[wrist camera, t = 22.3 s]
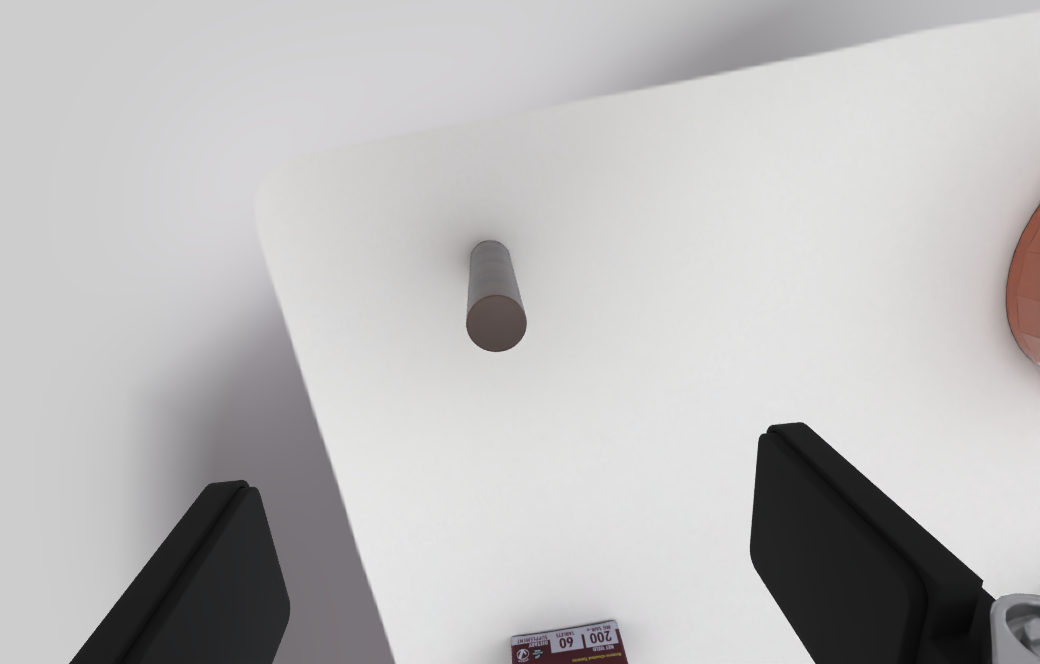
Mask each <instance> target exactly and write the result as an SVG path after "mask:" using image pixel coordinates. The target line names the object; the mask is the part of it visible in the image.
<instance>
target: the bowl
mask: <svg viewBox="0 0 1040 664" xmlns="http://www.w3.org/2000/svg"><path fill="white" fill-rule="evenodd" d="M1006 304H1007V312H1008V319H1009V323H1010V327H1011V330H1012V333H1013V335H1014V337H1015V339H1016V341H1017V343H1018V345H1019V346H1020V348H1021V349H1022V350H1023V352H1024V353H1025V354H1026V355H1027V356H1028V357H1029V358H1030V359H1031V360H1032V361H1033V362H1034V363H1035V364H1037V365H1038V366H1040V206H1039V207H1038V209H1037V210H1036V212H1035V213H1034V215H1033V216H1032V218H1031V220H1030V222H1029V223H1028V225H1027V227H1026V229H1025V231H1024V233H1023V235H1022V237H1021V239H1020V242H1019V244H1018V246H1017V249H1016V251H1015V254H1014V257H1013V261H1012V264H1011V268H1010V272H1009V278H1008V284H1007V301H1006Z"/></svg>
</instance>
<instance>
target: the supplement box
mask: <svg viewBox="0 0 1040 664" xmlns="http://www.w3.org/2000/svg"><path fill="white" fill-rule="evenodd" d="M511 648H512V664H628V662H627V658H626V654H625V650H624V646H623V643H622V639H621V635H620V632H619V629H618V625H617V622H616V621H610V622H606V623H602V624H596V625H590V626H584V627H579V628H573V629H566V630H560V631H554V632H548V633H541V634H534V635H527V636H516V637H512V639H511Z"/></svg>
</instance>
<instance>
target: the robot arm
mask: <svg viewBox="0 0 1040 664" xmlns="http://www.w3.org/2000/svg"><path fill="white" fill-rule="evenodd" d="M750 556H751V560H752V563H753V565H754V568H755V569H756V571H757V573H758V574H759V576H760V577H761V579H762V581H763V582H764V584H765V585H766V587H767V588H768V590H769V592H770V593H771V595H772V596H773V598H774V599H775V601H776V603H777V604H778V606H779V607H780V609H781V610H782V612H783V613H784V615H785V617H786V618H787V620H788V621H789V623H790V624H791V626H792V628H793V629H794V631H795V632H796V634H797V635H798V637H799V639H800V640H801V642H802V643H803V645H804V646H805V648H806V649H807V651H808V653H809V654H810V656H811V657H812V659H813V660H814V662H815V664H1040V596H1038V595H1033V594H1011V595H1006V596H1001V597H1000V598H999V599H997V600H995V599H994V598H993V597H992V596H991V595H990V594H989V593H987V592H986V591H985V590H984V589H983V588H982V584H983V580H982V579H981V578H980V577H979V576H977V575H976V574H975V573H974V572H973V571H972V570H971V569H969V568H968V567H967V566H966V565H965V564H964V563H963V562H962V561H960V560H959V559H958V558H957V557H956V556H955V555H954V554H952V553H951V552H950V551H949V550H948V549H947V548H946V547H945V546H943V545H942V544H941V543H940V542H939V541H938V540H937V539H935V538H934V537H933V536H932V535H931V534H930V533H929V532H928V531H926V530H925V529H924V528H923V527H922V526H921V525H920V524H918V523H917V522H916V521H915V520H914V519H913V518H912V517H911V516H909V515H908V514H907V513H906V512H905V511H904V510H903V509H901V508H900V507H899V506H898V505H897V504H896V503H895V502H894V501H892V500H891V499H890V498H889V497H888V496H887V495H886V494H884V493H883V492H882V491H881V490H880V489H879V488H878V487H877V486H875V485H874V484H873V483H872V482H871V481H870V480H869V479H867V478H866V477H865V476H864V475H863V474H862V473H861V472H859V471H858V470H857V469H856V468H855V467H854V466H853V465H852V464H850V463H849V462H848V461H847V460H846V459H845V458H844V457H842V456H841V455H840V454H839V453H838V452H837V451H836V450H835V449H833V448H832V447H831V446H830V445H829V444H828V443H827V442H825V441H824V440H823V439H822V438H821V437H820V436H819V435H818V434H816V433H815V432H814V431H813V430H812V429H811V428H810V427H808V426H807V425H806V424H804V423H802V422H797V423H787V424H778V425H771V426H770V427H769V428H768V430H767V433H766V434H762V435H760V437H759V441H758V452H757V465H756V477H755V489H754V502H753V514H752V527H751V539H750ZM289 615H290V601H289V597H288V593H287V590H286V586H285V582H284V579H283V575H282V572H281V568H280V565H279V561H278V557H277V554H276V550H275V546H274V543H273V539H272V536H271V532H270V528H269V525H268V521H267V517H266V514H265V510H264V507H263V503H262V499H261V496H260V493H259V490H258V489H257V488H256V487H249V485H248V483H247V482H246V481H244V480H238V481H228V482H219V483H211V484H209V485H208V486H207V487H205V489H204V490H203V491H202V493H201V494H200V495H199V496H198V498H197V499H196V500H195V502H194V503H193V504H192V506H191V507H190V508H189V509H188V511H187V512H186V513H185V515H184V516H183V517H182V519H181V520H180V521H179V522H178V524H177V525H176V526H175V528H174V529H173V530H172V531H171V533H170V534H169V535H168V537H167V538H166V539H165V541H164V542H163V543H162V544H161V546H160V547H159V548H158V550H157V551H156V552H155V553H154V555H153V556H152V557H151V559H150V560H149V561H148V562H147V564H146V565H145V566H144V568H143V569H142V570H141V572H140V573H139V574H138V576H137V577H136V578H135V579H134V581H133V582H132V583H131V585H130V586H129V587H128V588H127V590H126V591H125V592H124V594H123V595H122V596H121V597H120V599H119V600H118V601H117V603H116V604H115V605H114V607H113V608H112V609H111V610H110V612H109V613H108V614H107V616H106V617H105V618H104V619H103V621H102V622H101V623H100V625H99V626H98V627H97V628H96V630H95V631H94V633H93V634H92V635H91V636H90V637H89V639H88V640H87V641H86V643H85V644H84V645H83V647H82V648H81V649H80V650H79V652H78V653H77V654H76V656H75V657H74V658H73V659H72V661H71V662H70V663H69V664H272V662H273V660H274V657H275V655H276V652H277V649H278V647H279V644H280V642H281V639H282V637H283V634H284V631H285V629H286V626H287V624H288V621H289Z"/></svg>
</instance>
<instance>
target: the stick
mask: <svg viewBox="0 0 1040 664" xmlns="http://www.w3.org/2000/svg"><path fill="white" fill-rule="evenodd" d="M526 325H527V321H526V315H525V312H524V308H523V304H522V300H521V296H520V293H519V289H518V285H517V281H516V277H515V274H514V270H513V266H512V262H511V258H510V255H509V252H508V250H507V249H506V247H505V246H504V245H502V244H501V243H499V242H497V241H491V240H490V241H484V242H481V243H480V244H478V245H477V246H476V247H475V248H474V249H473V251H472V253H471V257H470V271H469V287H468V303H467V319H466V327H467V331H468V334H469V336H470V338H471V340H472V341H473V342H474V343H475V344H476V345H477V346H479V347H480V348H482V349H484V350H487V351H491V352H501V351H505V350H508V349H510V348H512V347H514V346H515V345H516V344H518V343H519V342H520V340H521V339H522V337H523V336H524V333H525V331H526Z"/></svg>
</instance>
